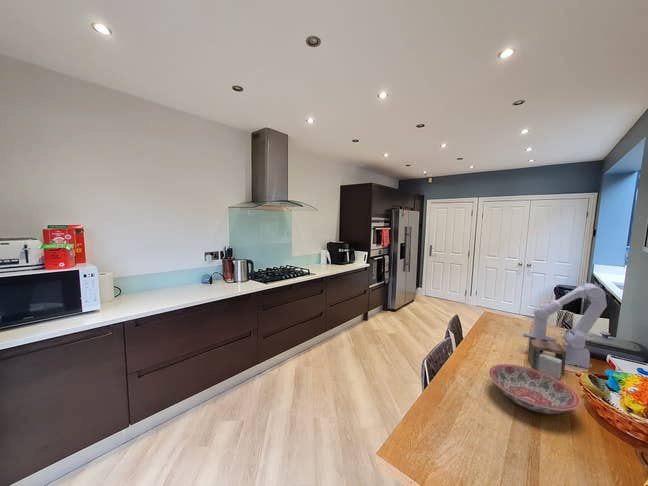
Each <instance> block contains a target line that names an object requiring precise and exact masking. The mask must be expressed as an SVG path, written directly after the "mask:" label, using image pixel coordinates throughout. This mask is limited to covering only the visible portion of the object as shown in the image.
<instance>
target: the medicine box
mask: <svg viewBox="0 0 648 486" xmlns="http://www.w3.org/2000/svg"><path fill="white" fill-rule="evenodd" d="M561 366H562V360H560V359H557V358H555V356H554V357H553V356H551V355H547V354H544V353H540V356H539V365H538V370H537V371H540V372H542V373H545V374H547V375H549V376H552V377H554V378H555V379H557V380H559V379H560V378H561V376H562V375H561Z"/></svg>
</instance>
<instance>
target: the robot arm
mask: <svg viewBox="0 0 648 486" xmlns="http://www.w3.org/2000/svg"><path fill="white" fill-rule="evenodd" d="M606 295H607V294H606V293H605V291H604V290H603V289H602V288H601V287H599V286H596V284H594V283H591V282H584V284H583V283H582V285H579V286H577V287H575V288H574V289H572V290H571V291H570V292H568V293H566V294H565V295H564V296H561V297H560V298H559V299H551V300H550V299H549V300H547V302H546V303H545V304H543V305H539V306H538V307H535V308H534V310H533V314H534V317H533V325H532V326H533V327H532V333H526V332H522V337H523V338H528V339H529V338H531V339H536V340H542V341H547V342H553V343H557V339H556V338H555V337H550V336H547V325H548V321H547V320H549V318H550V316H551V315H554V314H556V313H557V312H559V311H561V310H562V309H563V306H564V305H566V304H569V303H571V302H572V301H575V300H576V299H580V298H581V299H588V301H590V304H589V305H588V307H587V308H586V310H585V312H584V313H583V314H582V315H581V317H580V319H579V320H578V322H577V323H576V324H575V326H574V327H573V328H571V329H570V330H569V331H567V332H565V334H564V339H565V340H566V342H564V348H563V349H564V350H565V351H566V358H565V364H566V363H567V364H566V365H570V364H571V365H570V366H575V365H577V367H580V366H581V367H582V368H584V369H585V368H586V369H590V358H591V354H590V353H591V352H590V351H589V349H588V348H585V347H586V341H587V339H588V337H587V336H588V334H589V332H590V331H591V329H592V328H593V326H594V325H595V323H596V322H597V321H598V319H599V318H600V317H601V315H602V314H603V312H604V311H605V310H606V308H607V306H608V303H607V297H606ZM543 352H544V351H543V350H540V354H543ZM581 367H580V368H581Z"/></svg>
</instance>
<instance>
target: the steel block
mask: <svg viewBox="0 0 648 486" xmlns="http://www.w3.org/2000/svg"><path fill="white" fill-rule="evenodd" d="M540 355H541V352H540V350H538V349H537V352H536V365H535V369H534V370H537V371H538V365H539V356H540Z"/></svg>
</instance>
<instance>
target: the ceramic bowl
mask: <svg viewBox="0 0 648 486" xmlns="http://www.w3.org/2000/svg"><path fill="white" fill-rule="evenodd" d="M488 374H489V377H490V379H491V381H492V382H493V383H494V384H495V385H496V386H497V387H498V388H499V390H500V391H501V393H503V394H504V396H506V397H507V398H508V399H509V400H511V401H512V402H513V403H515V404H517V405H518V406H521V407H522V408H525V409H528V410H530V411H533V412H536V413H541V414H549V415H550V414H551V415H553V414H561V413H564V412H566V411H573V410H575V409H578V407H579V406H580V404H581V400H580V398H579V395H578V394H577V393H576V391H575V390H573V389H572V388H571V387H569V386H568V385H567V384H565V383H564V382H563V381H561V380H559V379H556V378H554V377H552V376H549V375H547V374H545V373H542V372H540V371H538V370H536V369H534V368H532V367H526V366H522V365H517V364H507V363H506V364H505V363H502V364H496V365H494V366H493V365H492V367H490V369H489V371H488Z"/></svg>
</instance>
